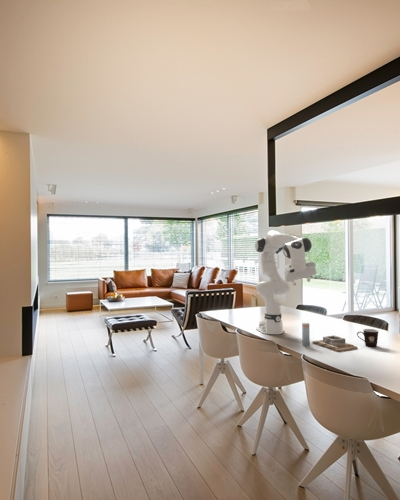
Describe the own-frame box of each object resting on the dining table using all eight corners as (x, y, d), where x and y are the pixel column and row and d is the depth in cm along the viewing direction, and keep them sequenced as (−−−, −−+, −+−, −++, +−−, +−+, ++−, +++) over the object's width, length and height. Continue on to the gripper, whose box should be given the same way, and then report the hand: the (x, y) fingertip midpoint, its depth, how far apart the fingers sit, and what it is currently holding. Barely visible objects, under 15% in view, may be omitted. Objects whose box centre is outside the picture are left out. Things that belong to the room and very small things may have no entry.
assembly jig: (312, 343, 223) (312, 335, 223) (330, 340, 229) (330, 332, 230) (338, 352, 203) (337, 343, 203) (357, 348, 209) (357, 340, 209)
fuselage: (300, 344, 220) (300, 323, 220) (306, 344, 221) (306, 322, 221) (305, 346, 215) (305, 324, 216) (311, 345, 217) (310, 324, 217)
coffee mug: (380, 346, 215) (380, 330, 215) (375, 348, 209) (375, 332, 209) (361, 342, 223) (361, 327, 223) (356, 345, 217) (356, 329, 217)
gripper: (313, 258, 218) (315, 276, 225) (282, 267, 219) (285, 284, 225) (317, 263, 213) (318, 281, 219) (285, 272, 213) (288, 289, 220)
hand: (301, 282), depth 222 cm, fingers open, 8 cm apart
